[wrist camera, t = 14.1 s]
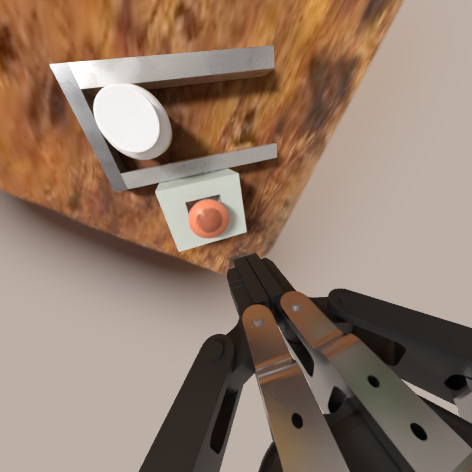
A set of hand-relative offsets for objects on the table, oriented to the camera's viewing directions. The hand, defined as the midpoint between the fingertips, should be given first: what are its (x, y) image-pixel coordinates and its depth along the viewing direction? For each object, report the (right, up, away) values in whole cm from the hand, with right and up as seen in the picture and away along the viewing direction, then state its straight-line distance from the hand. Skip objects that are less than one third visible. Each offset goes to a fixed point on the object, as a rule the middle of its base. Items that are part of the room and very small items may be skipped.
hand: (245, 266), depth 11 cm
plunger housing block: (-7, +8, +18) cm, 21 cm away
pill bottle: (-12, +16, +12) cm, 24 cm away
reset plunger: (-5, +5, +12) cm, 14 cm away
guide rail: (-6, +18, +13) cm, 23 cm away
